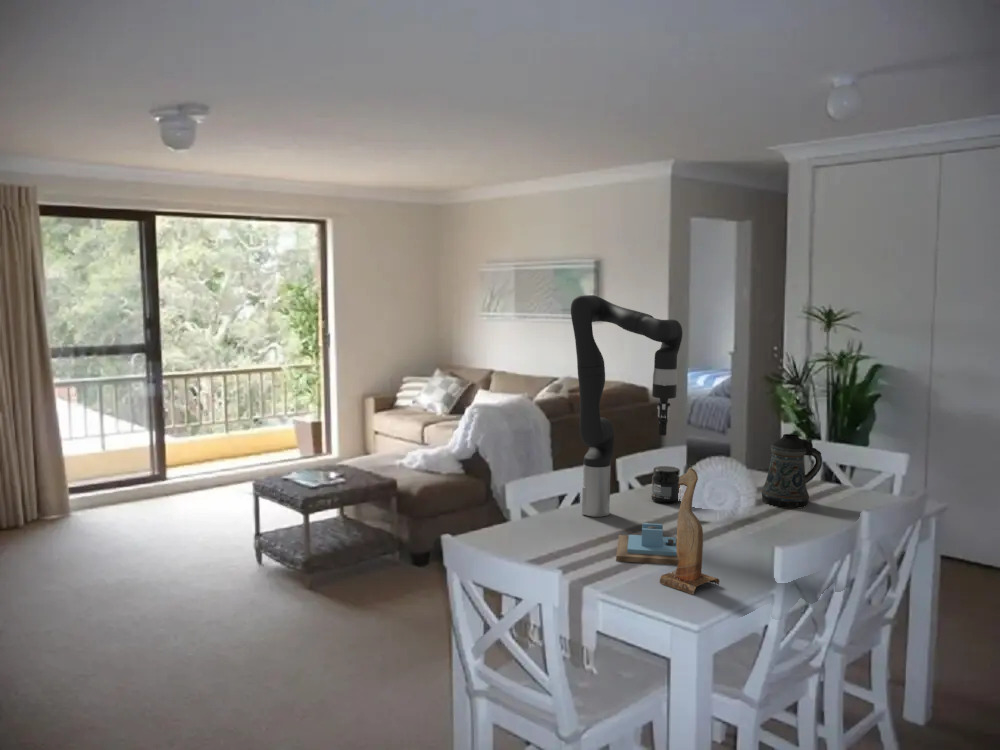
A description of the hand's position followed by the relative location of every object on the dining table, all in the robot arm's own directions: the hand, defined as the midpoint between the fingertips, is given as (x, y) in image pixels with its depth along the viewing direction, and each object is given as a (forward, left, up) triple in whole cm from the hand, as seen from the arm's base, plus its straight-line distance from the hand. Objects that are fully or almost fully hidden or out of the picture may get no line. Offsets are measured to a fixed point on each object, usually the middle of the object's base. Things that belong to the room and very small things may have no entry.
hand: (662, 432), depth 264 cm
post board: (-3, -23, -32) cm, 40 cm away
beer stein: (+46, +44, -32) cm, 71 cm away
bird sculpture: (+7, -48, -32) cm, 59 cm away
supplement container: (+2, +37, -32) cm, 49 cm away
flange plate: (-3, -23, -30) cm, 38 cm away
